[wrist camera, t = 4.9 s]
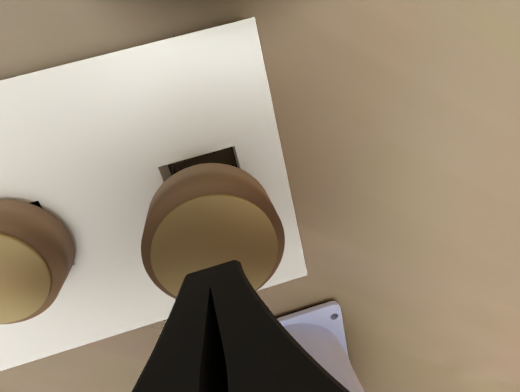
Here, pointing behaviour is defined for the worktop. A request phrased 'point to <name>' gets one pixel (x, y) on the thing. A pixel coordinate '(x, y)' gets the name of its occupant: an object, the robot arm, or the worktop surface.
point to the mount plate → (131, 168)
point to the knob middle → (31, 259)
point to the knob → (210, 226)
